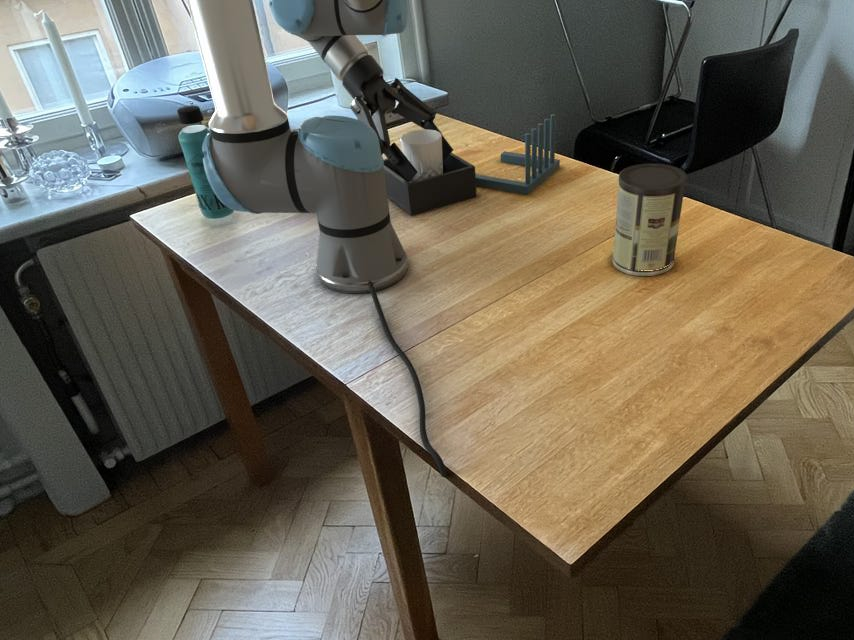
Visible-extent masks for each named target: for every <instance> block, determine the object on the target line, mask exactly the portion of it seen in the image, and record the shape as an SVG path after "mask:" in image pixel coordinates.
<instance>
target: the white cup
mask: <svg viewBox="0 0 854 640" xmlns="http://www.w3.org/2000/svg"><path fill="white" fill-rule="evenodd" d="M440 132H441V131H440ZM440 132H438V131H435V130H428V129H423V128H421V129H415V130H411V131H407V132H404V133H403V134H401V136H400V138H399V139H400V146H401V151H402V153H403V154H404V155H405V156H406V158H407V159H408V160H409V161H410V163H411V164H412V165H413V167H414V168H415V169H416V170H417V173H416V175H415V176H414V177H413V178H412V179H411V181H409V183H412V182H415V181H419V180H422V179H426V178H429V177H433V176H437V175H440V174H443V156H442V135H443V134H442V135H441V133H442V132H441V133H440Z"/></svg>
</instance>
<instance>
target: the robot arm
mask: <svg viewBox="0 0 854 640" xmlns="http://www.w3.org/2000/svg"><path fill="white" fill-rule="evenodd" d="M253 1H254V0H186V4H187V8H188V11H189V16H190V19H191V23H192V25H193V30H194V35H195V38H196V42H197V46H198V49H199V53H200V57H201V60H202V64H203V68H204V72H205V75H206V79H207V83H208V87H209V91H210V95H211V98H212V102H213V105H214V113H213V114H212V116H211V118H210V120H209V121H208V128H209V129H210V131H211V132H210V133H208V134H207V135H206V137H205V139H204V142H203V147H202V152H203V154H204V156H205V157H204V158H203V164H204V169H205V172H206V176H207V179H208V181H209V183H210V186H211V188H212V190H213V191H214V193H215V195H216V196H217V197H218V199H219V200H220V201H221V202H222V203H223V204H224V205H226V206H227V207H228V208H230V209H232V210H234V212H241V213H250V214H254V215H258V214H261V215H262V214H315V216H316V220H317V224H318V229H319V237H318V244H317V245H318V246H317V255H316V263H315V269H316V273H317V278H318V281H319V282H320V284H321V285H322V286H324V287H325V288H327V289H328V290H331V291H334V292H338V293H342V294H343V293H345V294H364V293H370V295H371V298H372V301H373V303H374V307H375V309H376V312H377V315H378V317H379V321H380V323H381V324H380V325H381V326H382V329H383V331H384V334H385V336H386V338H387V340H388V342H389V344H390V345H391V347H392V348H393V349H394V351H395V352H396V353H397V355H398V356H399V357H400V359H401V360H402V361H403V362H404V364H405V365H406V367H407V369H408V372H409V374H410V376H411V379H412V381H413V384H414V389H415V392H416V398H417V402H418V408H419V409H418V410H419V434H420V439H421V442H422V445H423V447H424V449H425V450H426V452H428V453H429V455H430V456H431V457H432V458H433V460H434V461H435V463H436V466H437V468H438V470H439V473H440V476H441V478H447V477H448V471H447V468H446V465H445V463H444V460H443V458H442V457H441V455H440V454H439V452H437V450H436V449H435V448H434V447H433V446H432V444H431V443H430V440H429V437H428V433H427V427H426V403H425V398H424V394H423V389H422V386H421V382H420V379H419V376H418V373H417V370H416V369H415V366H414V365H413V363H412V361H411V360H410V359H409V357H408V356H407V354H406V353H405V352H404V350H403V349H401V347H400V346H399V344H398V343H397V341H396V340H395V338H394V337H393V334H392V332H391V331H390V328H389V325H388V322H387V320H386V317H385V315H384V312H383V309H382V305H381V303H380V300H379V297H378V294H377V291H380V290H383V289H385V288H388V287H391V286H392V285H394V284H396V283H398V282H399V281H401V279H403V277H405V275H406V274H407V272H408V269H409V265H408V259H407V258H408V257H407V253H406V251H405V249H404V247H403V245H402V243H401V241H400V238H399V237H398V234H397V232H396V231H395V228H394V226H393V224H392V221H391V213H390V206H389V199H388V197H387V190H386V182H385V175H384V167H383V165H384V161H383V159H384V157H383V155H384V156H385V157H386V159H387V158H388V160H389V161H390V162H391V163H392V165H394V166H396V168H397V169H398V170H399V171H400V173H401V174H402V175H403V177H404V178H405V179H406V180H407V182H409V181H411V179H412V178H413V177H414V176H415V175H416V173H417V170H416V169H415V168H414V167H413V165H412V164H411V163H410V161H409V160H408V159H407V158H406V156H405V155H404V154H403V152H402V149H400V147H399V146H398V145H397V144H396V142H393V143H391V139H390V134H389V129H388V125H387V120H386V115H388V114H393V115H396V114H397V115H399V116H401V117H403V118H404V119H406V120H408V121H409V122H411V123H412V124H415V125H416V126H418V127H420V128H421V129H428V130H435V131H438V132H440V133H441V135H442V156H443V159H446V158H447V157H448V156H449V154H450V153H451V152H452V153H453V152H454V148H453V147H452V146H451V144H450V142H448V141H447V139H446V138H445V137H444V135H443V133H442V131H441V130H440V129H439V128H438V127H437V125H436V124H435V122H434V120H435V119H436V115H437V112H436V111H435V110H434V109H433V108H431V107H430V106H429V105H427V104H426V103H425V102H424V101H423V100H422V99H420V98H419V97H418V96H416V95H415V94H414V93H413V92H412V91H410V90H409V89H408V88H407V87H406V86H405V85H404V84H403V82H401V80H400V79H399V78H397V77H395V78H394V79H393V80H392V82H391V83H389V82H387V81H386V79H385V78H384V69H383V68H382V67H381V65H380V63H378V61H377V60H376V59H375V57H374V55H371V54H370V53H369V49H368V48H367V46H366V45H365V44H364V43H363V41H362V40H361V39H360V38H359V37H358V36H382V37H384V36H385V37H386V35H387V36H388V35H397V34H402V33H404V32H405V30H406V28H407V26H408V19H409V11H408V9H409V7H408V0H268V7H269V11H270V14H271V16H272V19H273V20H274V21H275V23H276V24H277V25H278V26H280V28H282V29H283V30H284V31H285V32H287V33H288V34H290V35H293V36H296V37H299V38H301V39H302V40H304V41H306V42H307V43H308V44H309V45H310V46H311V47H312V49H314V51H315V52H316V53H317V54H318V56H319V57H320V58H321V59H322V61H323V63H325V64H326V66H327V67H328V68H329V69H330V71H331V72H332V74H333V75H334V76H335V77H336V78H337V80H338V81H340V82H341V83H342V84H341V85H342V86H343V89H345V90H346V92H347V93H348V94H349V95H350V97H351V98H352V99H353V100H352V102H351V103H350V105H349V108H350V110H351V112H352V113H353V114H354V115H355V117H356V118H354V117H349V116H343V115H323V116H313V117H310V118H307V119H305V120H303V121H302V122H301V123H300V124H299V125H298V129H299V130H298V131H291V130H292V129H291V126H290V122H289V116H288V113H287V111H284V110H283V109H282V108H281V107H280V106H278V105H277V104H276V103H275V98H274V94H273V89H272V86H271V80H270V76H269V71H268V66H267V61H266V57H265V53H264V47H263V43H262V38H261V34H260V33H261V32H260V29H259V24H258V19H257V15H256V10H255V6H254V2H253Z"/></svg>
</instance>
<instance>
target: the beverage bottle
mask: <svg viewBox="0 0 854 640" xmlns="http://www.w3.org/2000/svg"><path fill="white" fill-rule="evenodd" d="M176 112H177V116H178V121H179V123H180V124H182V125H187V126H186V127H184V128H182V129H181V131H180V132H179V134H178V136H177V137H178V138H177V139H178V141H179V144H180V147H181V151H182V153H183V156H184V159H185V164H186V168H187V171H188V173H189V178H190V181H191V186H192V187H193V189H194V191H193V192H194V194H195V197H196V202H197V204H198V208H199V211H200V213H201V214H202V216H203V217H204V218H205V219H210V220H216V219H222V218H223V219H224V218H227V217H228V216H230V215H232V214H233V213H234V212H235V211H234V210H232V209H230V208H228V207H227V206H226V205H224V204H223V203H222V202H221V201H220V200H219V199H218V197H217V196H216V195H215V193H214V191H213V190H212V188H211V186H210V183H209V181H208V179H207V176H206V172H205V169H204V164H203V158H204V157H205V156H204V154H203V152H202V147H203V142H204V139H205V137H206V135H207V134H208V133H210V132H211V131H210V128H209V126H206V125H204V124H199V123H201V122H202V121H204V119H205V118H204V116H203V113H202V110H201V108H200V106H198V105H196V104H195V105H193V104H192V105H184V106H181V107H179V108H177V111H176ZM197 123H198V124H197Z"/></svg>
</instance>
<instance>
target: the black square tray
mask: <svg viewBox="0 0 854 640" xmlns="http://www.w3.org/2000/svg"><path fill="white" fill-rule="evenodd" d="M383 161H384V165H383V167H384V175H385V182H386V190H387V197H388V200H389V201H391V202H392V203H393V204H394V205H396V206H397V207H398V208H400V209H401V210H403V212H405V213H407V214H408V215H409V216H410V217H413V216H416V215H420V214H422V213H426V212H430V211H432V210H436V209H439V208H443V207H447V206H450V205H454V204H457V203H461V202H463V201H467V200H470V199H473V198H477V186H476V176H475V174H476V166H475V165H474V164H472V163H470V162H469V161H467V160H465V159H464V158H462V157H460V156H459V155H457V154H455V153H454V152H453V151H452V152H451V153H450V154H449V156H448V157H447V158H446V159H443V174H440V175H437V176H433V177H429V178H426V179H422V180H419V181H415V182H412V183H409V182H407V180H406V179H405V178H404V177H403V175H402V174H401V173H400V171H399V170H398V169H397V168H396V166H394V165H392V163H391V162H390V161H389V160H388V158H387V157H386V158H383Z"/></svg>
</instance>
